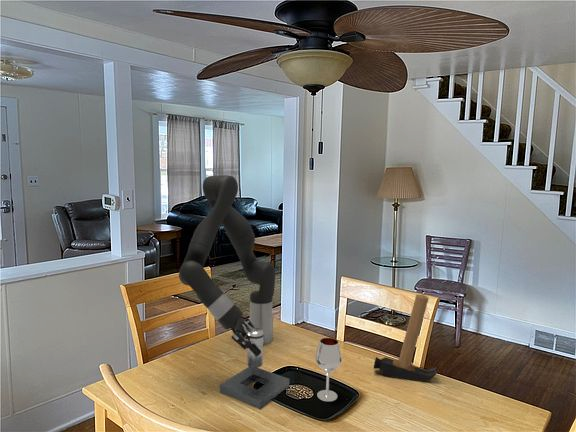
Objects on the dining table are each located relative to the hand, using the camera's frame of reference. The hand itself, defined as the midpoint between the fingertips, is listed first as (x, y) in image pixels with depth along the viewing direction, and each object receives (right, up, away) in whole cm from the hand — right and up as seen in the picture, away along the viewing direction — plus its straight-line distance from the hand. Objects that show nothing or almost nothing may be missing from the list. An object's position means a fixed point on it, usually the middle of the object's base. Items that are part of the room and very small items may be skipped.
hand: (260, 350), depth 132 cm
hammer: (+49, -13, +13) cm, 53 cm away
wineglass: (+21, -14, -1) cm, 25 cm away
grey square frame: (-2, -13, +2) cm, 13 cm away
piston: (-2, -5, +1) cm, 5 cm away
